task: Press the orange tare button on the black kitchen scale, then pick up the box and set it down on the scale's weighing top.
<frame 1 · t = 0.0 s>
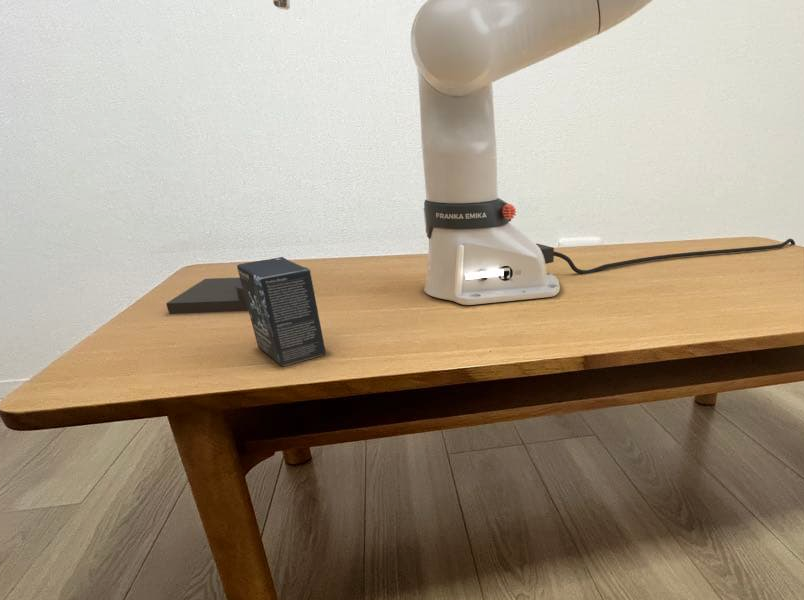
hand: (271, 1, 70), 39 cm above the table, tool pointing down, fingers open, 8 cm apart
box: (292, 353, 66), on the table
tare button: (256, 280, 81), point 4 cm above the table, slide at 0.1 cm
scale: (242, 298, 86), on the table
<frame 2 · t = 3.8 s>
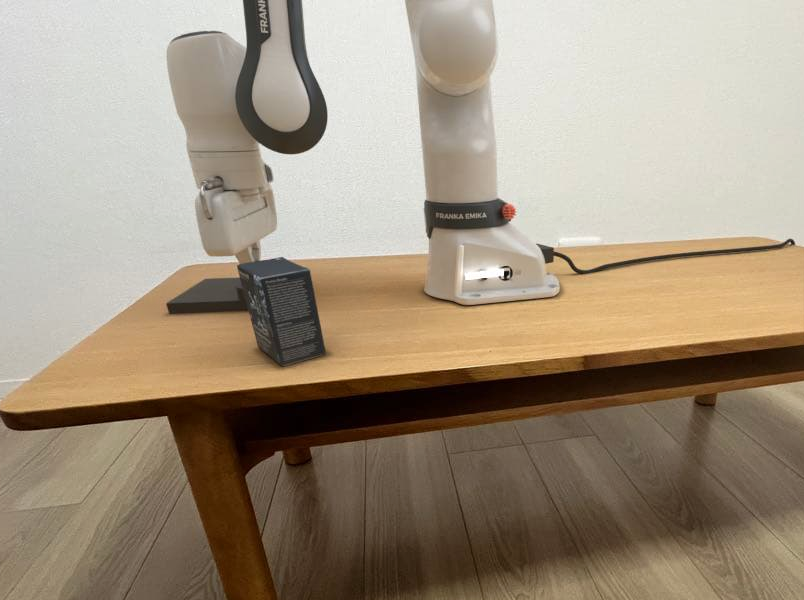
hand: (253, 274, 80), 5 cm above the table, tool pointing down, fingers closed, pressing on tare button
tare button: (256, 280, 81), point 4 cm above the table, slide at 0.1 cm, touching gripper
everything else where it was.
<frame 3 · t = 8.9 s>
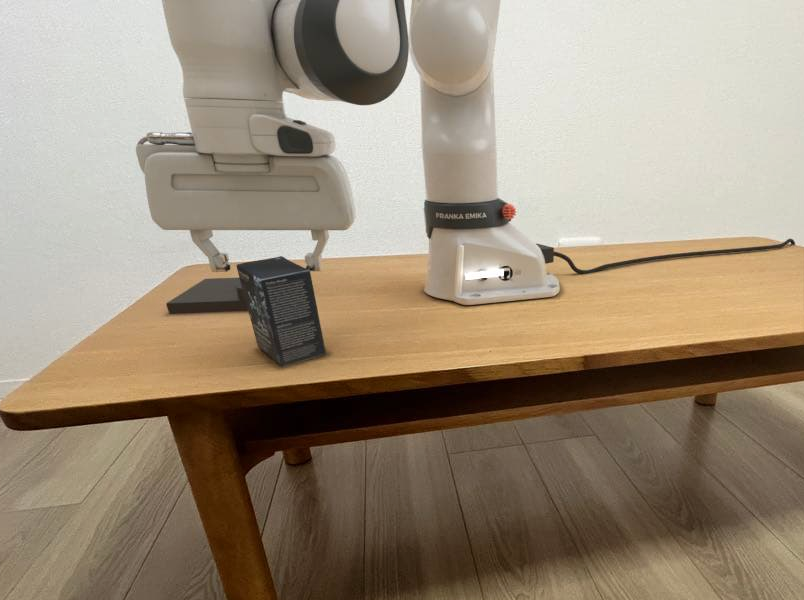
hand: (268, 270, 61), 10 cm above the table, tool pointing down, fingers open, 8 cm apart
box: (292, 353, 66), on the table, touching gripper
tare button: (256, 280, 81), point 4 cm above the table, slide at 0.1 cm
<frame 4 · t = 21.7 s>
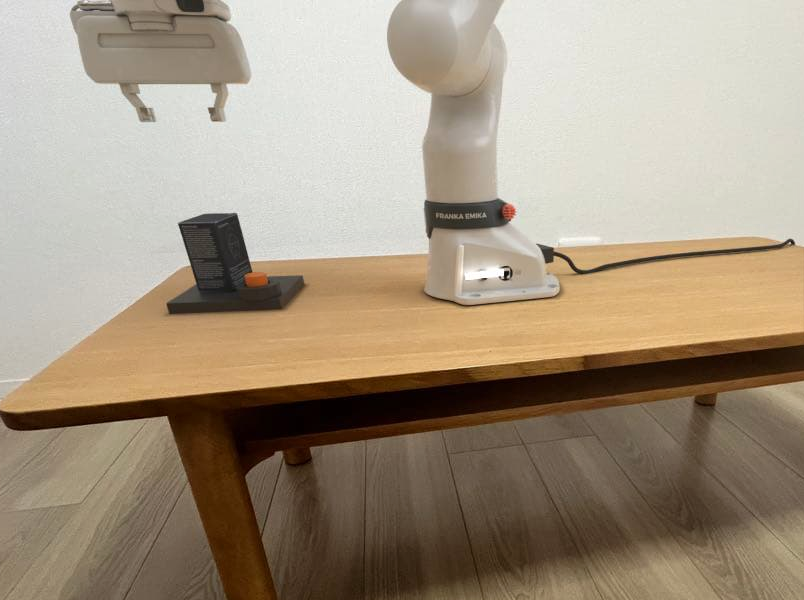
hand: (184, 122, 76), 25 cm above the table, tool pointing down, fingers open, 8 cm apart
box: (227, 286, 87), point 2 cm above the table, touching scale
everything else where it was.
at the end: tare button pushed in 1.1 cm at the most during the clip, back to where it started at the end; box inside the target area on the scale (0.4 cm from its centre), point 1.5 cm above the scale's base; box touching scale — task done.
